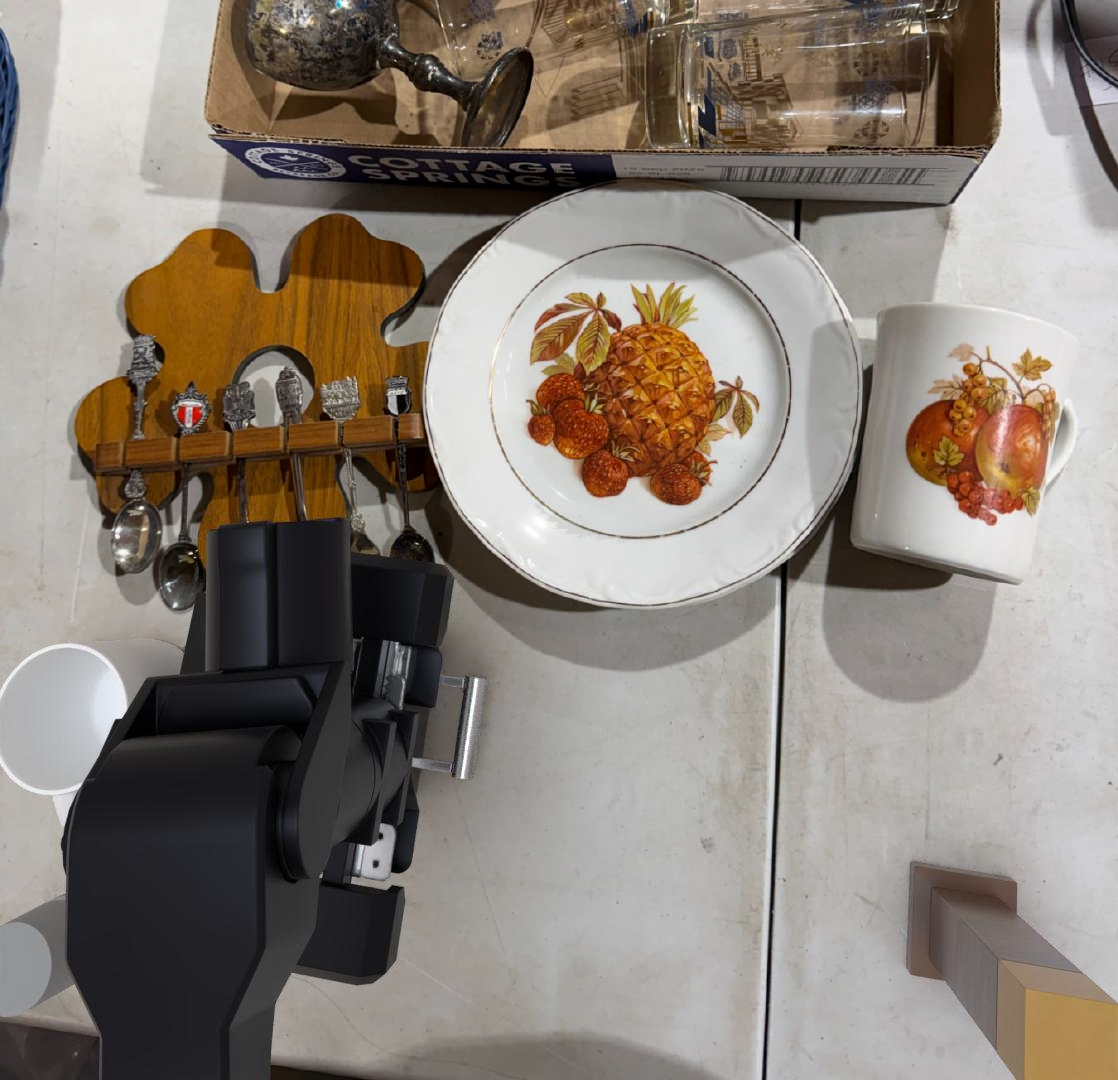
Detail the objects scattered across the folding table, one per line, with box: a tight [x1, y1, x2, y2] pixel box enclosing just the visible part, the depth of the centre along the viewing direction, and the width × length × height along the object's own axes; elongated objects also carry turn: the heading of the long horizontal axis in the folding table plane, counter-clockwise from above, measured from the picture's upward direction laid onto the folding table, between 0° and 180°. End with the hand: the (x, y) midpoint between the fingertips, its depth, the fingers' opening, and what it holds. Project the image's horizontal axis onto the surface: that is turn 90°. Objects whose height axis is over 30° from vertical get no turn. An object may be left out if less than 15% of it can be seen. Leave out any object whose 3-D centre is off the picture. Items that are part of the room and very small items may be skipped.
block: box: [995, 959, 1118, 1080], centre depth 46 cm, size 4×4×4 cm
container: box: [0, 892, 75, 1018], centre depth 60 cm, size 5×5×15 cm
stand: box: [905, 861, 1085, 1052], centre depth 55 cm, size 6×6×14 cm
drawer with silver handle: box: [402, 646, 489, 795], centre depth 65 cm, size 16×10×7 cm, turn 82°
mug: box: [0, 638, 184, 829], centre depth 65 cm, size 9×12×11 cm
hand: (404, 733), depth 57 cm, fingers open, 3 cm apart
